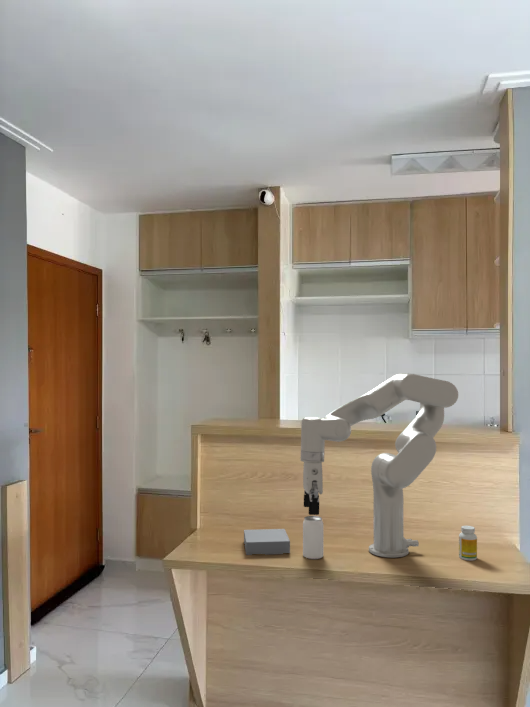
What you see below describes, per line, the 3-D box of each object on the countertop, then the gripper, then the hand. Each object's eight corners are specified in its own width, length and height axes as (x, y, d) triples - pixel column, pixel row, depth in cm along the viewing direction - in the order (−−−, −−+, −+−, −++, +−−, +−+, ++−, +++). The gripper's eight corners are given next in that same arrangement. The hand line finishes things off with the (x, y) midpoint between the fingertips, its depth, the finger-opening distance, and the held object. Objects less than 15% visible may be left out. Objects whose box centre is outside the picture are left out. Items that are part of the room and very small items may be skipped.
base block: (284, 540, 199) (284, 528, 199) (290, 553, 185) (290, 541, 185) (243, 541, 197) (243, 529, 197) (246, 555, 183) (246, 542, 183)
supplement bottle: (455, 556, 183) (455, 525, 183) (470, 554, 184) (470, 524, 184) (465, 561, 177) (465, 530, 177) (480, 560, 179) (480, 528, 179)
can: (322, 560, 178) (322, 521, 179) (301, 558, 180) (301, 520, 180) (324, 553, 185) (324, 516, 185) (304, 552, 186) (304, 514, 186)
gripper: (329, 460, 175) (328, 517, 174) (319, 452, 192) (317, 504, 191) (305, 460, 174) (303, 517, 173) (296, 452, 191) (295, 504, 191)
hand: (311, 510), depth 182 cm, fingers open, 9 cm apart
